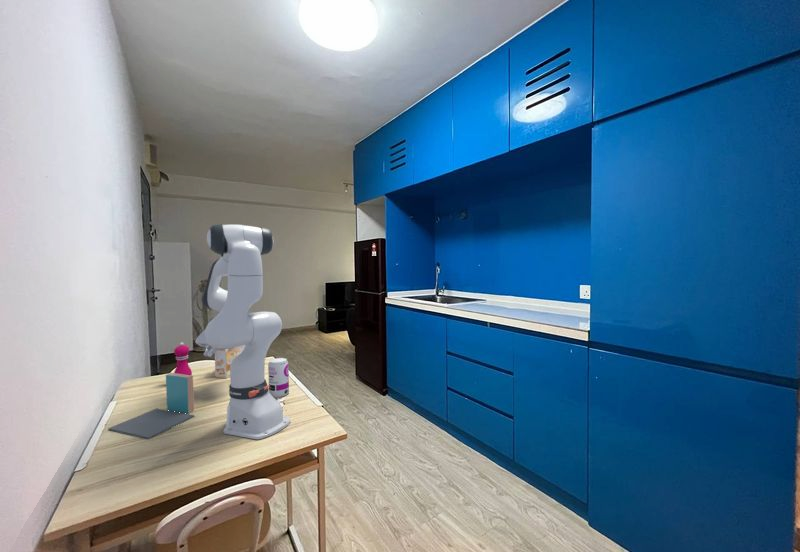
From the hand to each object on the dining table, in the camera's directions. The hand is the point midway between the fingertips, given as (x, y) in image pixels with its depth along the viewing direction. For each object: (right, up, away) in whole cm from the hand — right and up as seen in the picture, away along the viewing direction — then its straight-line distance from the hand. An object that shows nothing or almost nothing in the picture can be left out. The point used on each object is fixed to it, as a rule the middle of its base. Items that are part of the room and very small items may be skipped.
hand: (206, 355), depth 136 cm
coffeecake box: (-6, -17, +32) cm, 37 cm away
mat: (-7, -19, -21) cm, 29 cm away
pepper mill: (-22, -18, +18) cm, 33 cm away
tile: (-3, -19, -11) cm, 22 cm away
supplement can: (+30, -18, +3) cm, 35 cm away
